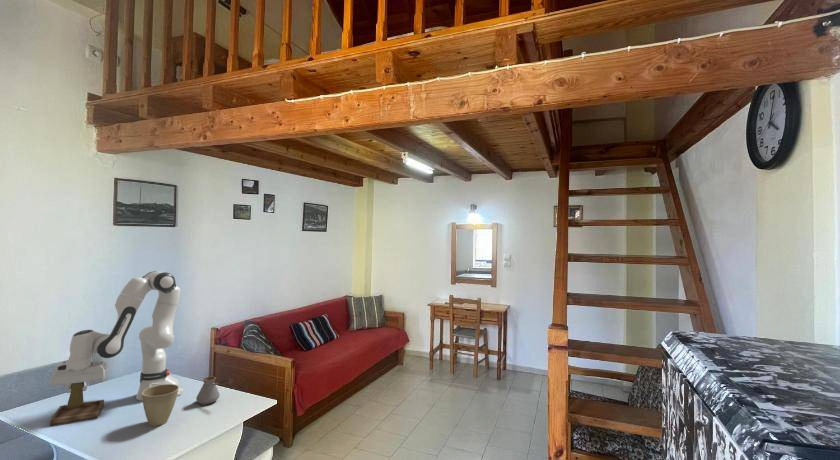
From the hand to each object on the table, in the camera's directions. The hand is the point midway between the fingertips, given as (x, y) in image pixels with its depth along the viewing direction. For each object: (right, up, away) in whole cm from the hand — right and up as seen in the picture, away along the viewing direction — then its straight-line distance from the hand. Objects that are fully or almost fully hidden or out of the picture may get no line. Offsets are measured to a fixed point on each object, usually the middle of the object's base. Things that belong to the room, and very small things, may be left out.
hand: (76, 391), depth 180 cm
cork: (0, -7, -1) cm, 7 cm away
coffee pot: (+57, -16, +21) cm, 63 cm away
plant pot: (+43, -14, -3) cm, 45 cm away
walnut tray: (0, -12, +1) cm, 12 cm away
